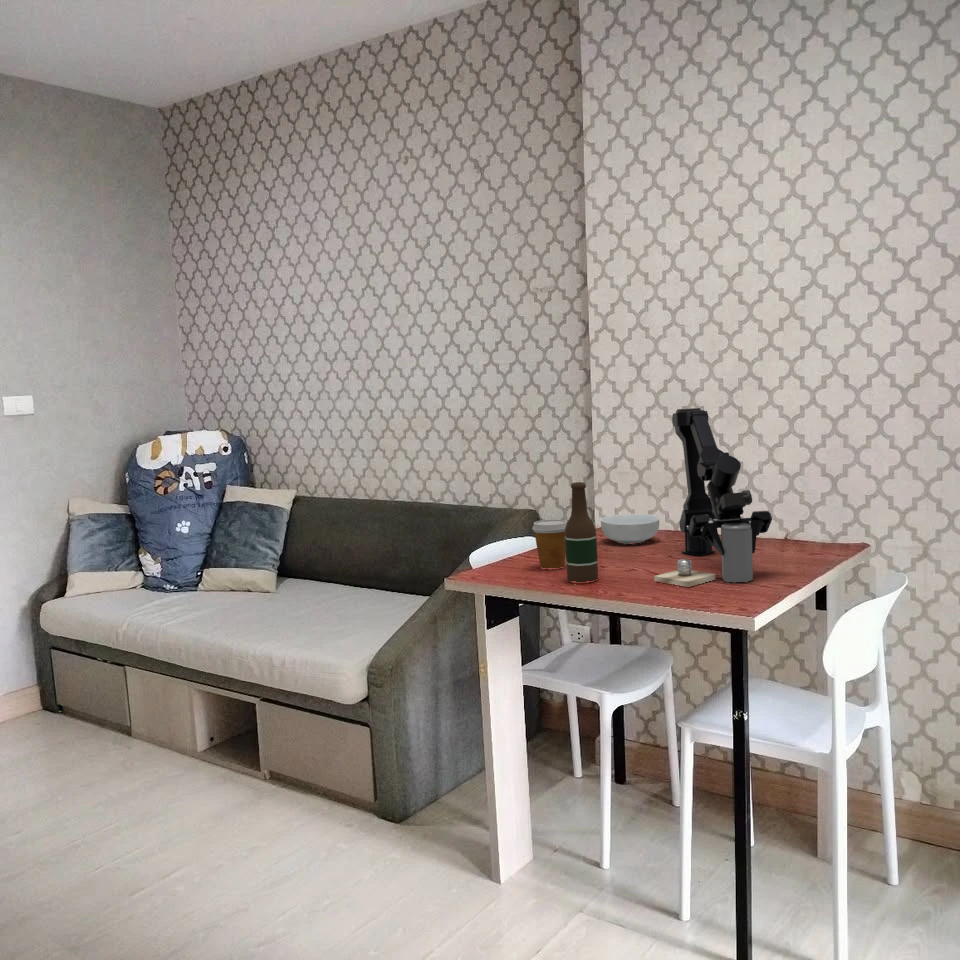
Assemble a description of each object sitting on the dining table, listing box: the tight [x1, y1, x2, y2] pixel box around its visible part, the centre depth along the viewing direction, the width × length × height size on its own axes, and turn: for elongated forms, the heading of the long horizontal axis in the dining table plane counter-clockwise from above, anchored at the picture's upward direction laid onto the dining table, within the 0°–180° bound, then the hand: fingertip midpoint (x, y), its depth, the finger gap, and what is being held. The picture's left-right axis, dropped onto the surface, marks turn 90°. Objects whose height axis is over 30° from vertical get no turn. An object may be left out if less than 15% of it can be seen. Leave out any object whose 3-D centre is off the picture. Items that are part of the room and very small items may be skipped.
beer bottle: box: [565, 481, 599, 582], centre depth 229 cm, size 8×8×24 cm
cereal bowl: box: [600, 513, 660, 545], centre depth 276 cm, size 17×17×7 cm
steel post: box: [676, 558, 693, 576], centre depth 224 cm, size 3×3×4 cm
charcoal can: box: [720, 523, 754, 584], centre depth 221 cm, size 7×7×13 cm
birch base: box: [653, 569, 716, 587], centre depth 224 cm, size 10×10×2 cm
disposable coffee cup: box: [532, 519, 568, 568], centre depth 247 cm, size 10×10×12 cm
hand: (738, 553), depth 220 cm, fingers closed on charcoal can, 7 cm apart
